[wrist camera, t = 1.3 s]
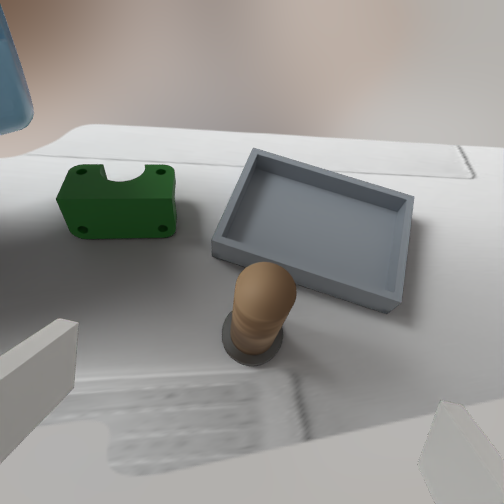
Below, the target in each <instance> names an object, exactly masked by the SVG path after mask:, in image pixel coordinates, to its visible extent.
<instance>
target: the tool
mask: <svg viewBox="0 0 504 504" xmlns="http://www.w3.org/2000/svg"><path fill="white" fill-rule="evenodd" d="M296 294H297V291H296V285H295V282H294V280H293V278H292V276H291V275H290V274H289V272H288V271H287V270H285V269H284V268H283V267H281V266H279V265H277V264H274V263H270V262H258V263H254V264H252V265H250V266H248V267H246V268H245V269H244V270H243V271H242V272H241V273H240V275H239V276H238V278H237V281H236V285H235V294H234V303H233V311H231V312H230V313H229V315H228V316H227V318H226V319H225V321H224V324H223V328H222V341H223V345H224V348H225V350H226V352H227V353H228V354H229V356H230V357H231V358H232V359H234V360H235V361H237V362H238V363H241V364H243V365H247V366H257V365H261V364H264V363H266V362H268V361H269V360H271V359H272V358H273V357H274V356H275V354H276V353H277V352H278V350H279V348H280V346H281V343H282V339H283V330H282V325H283V323H284V321H285V319H286V318H287V316H288V314H289V312H290V310H291V308H292V306H293V305H294V302H295V300H296Z"/></svg>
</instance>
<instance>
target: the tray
mask: <svg viewBox="0 0 504 504" xmlns="http://www.w3.org/2000/svg"><path fill="white" fill-rule="evenodd" d="M413 204H414V196H411V195H408V194H404V193H401V192H398V191H394V190H391V189H388V188H385V187H381V186H378V185H375V184H371V183H368V182H365V181H361V180H358V179H355V178H352V177H348V176H345V175H342V174H338V173H335V172H332V171H329V170H325V169H322V168H319V167H315V166H312V165H309V164H306V163H302V162H299V161H296V160H292V159H289V158H286V157H282V156H279V155H276V154H273V153H269V152H266V151H263V150H259V149H256V148H253V149H252V151H251V153H250V156H249V158H248V160H247V162H246V164H245V167H244V169H243V171H242V173H241V176H240V178H239V180H238V182H237V184H236V187H235V189H234V191H233V193H232V196H231V198H230V200H229V202H228V204H227V207H226V209H225V211H224V213H223V215H222V218H221V220H220V222H219V224H218V227H217V229H216V231H215V233H214V235H213V238H212V240H211V244H212V256H213V257H216V258H219V259H222V260H225V261H228V262H231V263H234V264H237V265H240V266H243V267H248V266H250V265H252V264H254V263H258V262H270V263H274V264H277V265H279V266H281V267H283V268H284V269H285V270H287V271H288V272H289V274H290V275H291V276H292V278H293V280H294V282H295V284H298V285H301V286H304V287H307V288H310V289H313V290H316V291H319V292H322V293H325V294H328V295H331V296H334V297H337V298H340V299H343V300H346V301H349V302H352V303H355V304H358V305H361V306H364V307H367V308H370V309H373V310H376V311H379V312H382V313H385V314H388V313H389V312H390V311H391V310H393V309H394V308H395V307H397V306H398V305H399V304H400V303H402V295H403V286H404V278H405V270H406V262H407V253H408V245H409V237H410V228H411V220H412V212H413Z"/></svg>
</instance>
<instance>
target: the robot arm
mask: <svg viewBox="0 0 504 504" xmlns="http://www.w3.org/2000/svg"><path fill="white" fill-rule="evenodd" d="M33 115H34V111H33V104H32V101H31V96H30V93H29V89H28V86H27V83H26V79H25V76H24V73H23V69H22V66H21V63H20V60H19V57H18V54H17V51H16V48H15V45H14V42H13V39H12V36H11V33H10V30H9V27H8V24H7V21H6V18H5V16H4V13H3V10H2V7H1V4H0V135H4V134H7V133H11V132H15V131H18V130H22V129H23V128H25V127H27V126H28V125H29V123H30V122H31V120H32V119H33ZM78 327H79V322H75V321H70V320H65V319H61V318H58V319H56V320H55V321H53V322H52V323H50V324H49V325H47V326H46V327H44V328H43V329H41V330H40V331H38V332H37V333H35V334H33V335H32V336H30V337H29V338H27V339H26V340H24V341H23V342H21V343H20V344H18V345H17V346H15V347H14V348H12V349H10V350H9V351H7V352H6V353H4V354H3V355H1V356H0V464H1V463H2V462H3V461H4V460H5V459H6V457H7V456H8V455H9V454H10V453H11V452H12V451H13V450H14V449H15V448H16V447H17V446H18V445H19V444H20V443H21V442H22V441H23V440H24V439H25V438H26V437H27V436H28V435H29V434H30V433H31V432H32V431H33V430H34V429H35V428H36V427H37V426H38V424H39V423H40V422H41V421H42V420H43V419H44V418H45V417H46V416H47V415H48V414H49V413H50V412H51V411H52V410H53V409H54V408H55V407H56V406H57V405H58V404H59V403H60V402H61V401H62V400H63V399H64V398H65V397H66V396H67V395H68V394H69V393H70V391H71V390H72V389H73V388H74V380H75V367H76V354H77V340H78ZM417 465H418V467H419V470H420V472H421V474H422V476H423V478H424V481H425V483H426V485H427V487H428V489H429V492H430V494H431V496H432V498H433V500H434V503H435V504H504V459H503V457H502V456H501V455H500V454H499V452H498V451H497V449H496V448H495V447H494V445H493V444H492V443H491V442H490V440H489V439H488V438H487V436H486V435H485V434H484V432H483V431H482V430H481V429H480V427H479V426H478V425H477V423H476V422H475V421H474V419H473V418H472V417H471V415H470V414H469V413H468V411H467V410H466V409H465V407H464V406H463V405H461V404H456V403H451V402H447V401H442V400H440V403H439V405H438V408H437V411H436V414H435V417H434V419H433V422H432V425H431V428H430V431H429V433H428V436H427V439H426V442H425V445H424V447H423V450H422V453H421V456H420V459H419V461H418V464H417Z"/></svg>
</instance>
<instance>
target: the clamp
mask: <svg viewBox="0 0 504 504" xmlns="http://www.w3.org/2000/svg"><path fill="white" fill-rule="evenodd" d="M175 184H176V180H175V172H174V169H173V168H172V167H171V166H168V165H145V171H144V172H143V174H142V175H140V176H139V177H137V178H135V179H133V180H129V181H123V182H115V181H110V180H107V176H106V173H105V169H104V166H103V164H83V165H77V166H74V167H72V168H71V169H70V170H69V171H68V173H67V175H66V177H65V180H64V182H63V184H62V186H61V189H60V191H59V193H58V195H57V198H56V201H57V203H58V205H59V208H60V210H61V212H62V215H63V217H64V219H65V221H66V224H67V226H68V228H69V231H70V232H71V233H72V234H73V235H74V236H76V237H78V238H81V239H116V238H166V237H170V236H172V235H173V234H174V233H175V231H176V220H177V214H176V206H175V198H174V195H175Z"/></svg>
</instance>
